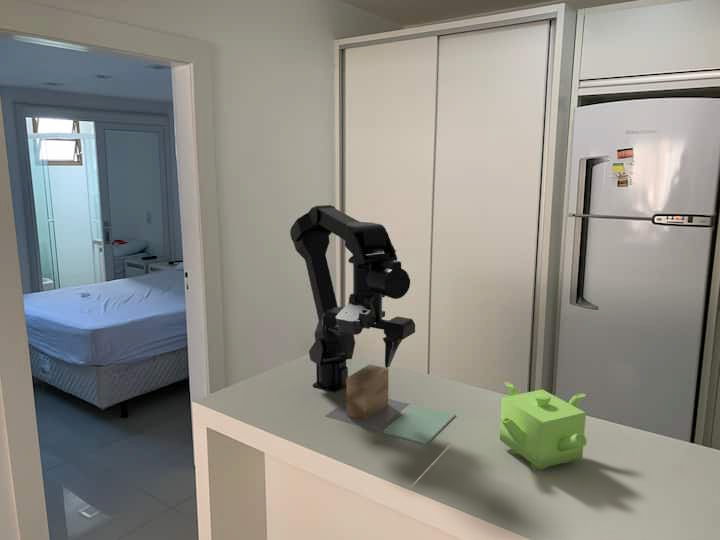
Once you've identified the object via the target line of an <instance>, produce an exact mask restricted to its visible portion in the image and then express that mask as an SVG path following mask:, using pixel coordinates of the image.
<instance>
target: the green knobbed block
mask: <svg viewBox="0 0 720 540" xmlns="http://www.w3.org/2000/svg"><path fill="white" fill-rule="evenodd" d="M503 384H504V385H505V387H506V388H507V391H508V396H505V397H502V398H501V405H500V406H501V407H500V408H501V409H500V431H499V432H500V433H499V441H500V442H502V443H504V444H505V445H506V446H507V447H509V448H510V450H509V451H510V453H511V454H512V455H515V456H521V457H522V458H524V459H526V461H528V462H529V463H530V468H531V469H532V470H535V471H539V472H540V471H544V470H545V469H546V468H550V467H553V466H556V465H560V464H565V465H566V464H569V463H570V462H572V461H574V460H575V461H576V460H578V459H581V458H583V454H584V447H586V445H587V444H588V442H587V438H586V436H585V427H586V417H587V416H586V412H585V411H583V410H581V409H580V408H578V406H579V404H580V403H581V401H582V400H583V399H584V398H585V397H586V394H585V393H576V394H575V395H574V396H572V397H571V398H570V400H569V402H567V401H565V400H564V399H561V398H559V397H558V396H556V395H553V394H552V393H550V392H548V391H546V390H544V389H538V390H534V391H528V392H524V393H519V392H518V391H517V389H516V387H515V386H514V385H513V383H511V382H508V381H504V383H503Z"/></svg>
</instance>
